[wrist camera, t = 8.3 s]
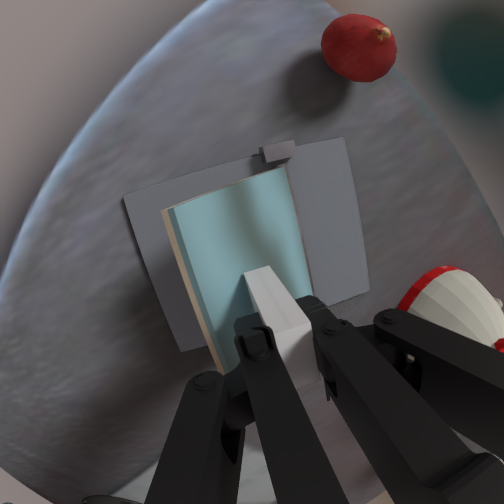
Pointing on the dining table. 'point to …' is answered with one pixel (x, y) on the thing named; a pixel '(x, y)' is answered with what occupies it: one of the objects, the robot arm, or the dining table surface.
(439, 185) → the dining table surface
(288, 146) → the hinge blocks
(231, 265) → the flap
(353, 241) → the base plate
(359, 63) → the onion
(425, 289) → the kitchen timer
